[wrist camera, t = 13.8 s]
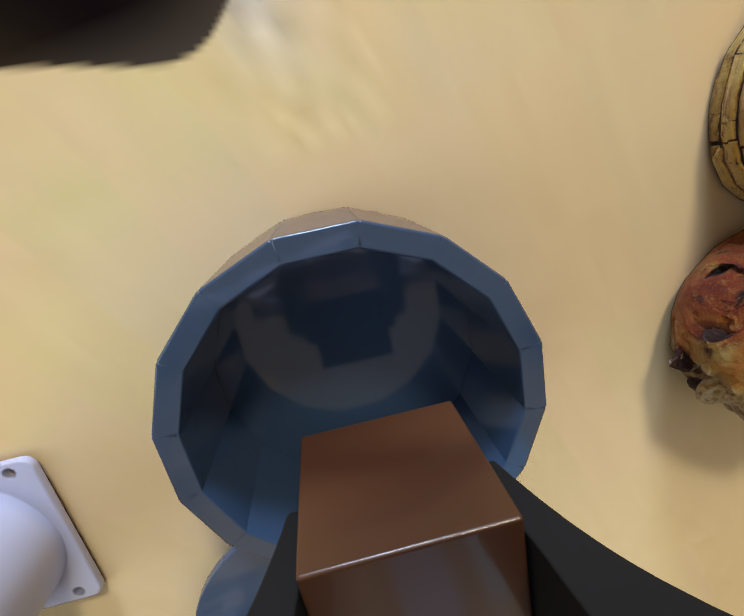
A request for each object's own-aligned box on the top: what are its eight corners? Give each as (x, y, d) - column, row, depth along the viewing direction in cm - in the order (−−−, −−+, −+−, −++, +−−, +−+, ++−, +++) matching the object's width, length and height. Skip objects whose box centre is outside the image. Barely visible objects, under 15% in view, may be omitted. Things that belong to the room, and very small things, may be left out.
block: (334, 552, 13) (344, 727, 9) (300, 436, 12) (293, 580, 8) (468, 516, 13) (538, 669, 9) (451, 399, 12) (525, 517, 8)
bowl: (248, 499, 20) (226, 610, 15) (154, 246, 16) (81, 280, 11) (495, 434, 21) (554, 519, 16) (464, 179, 17) (531, 181, 12)
